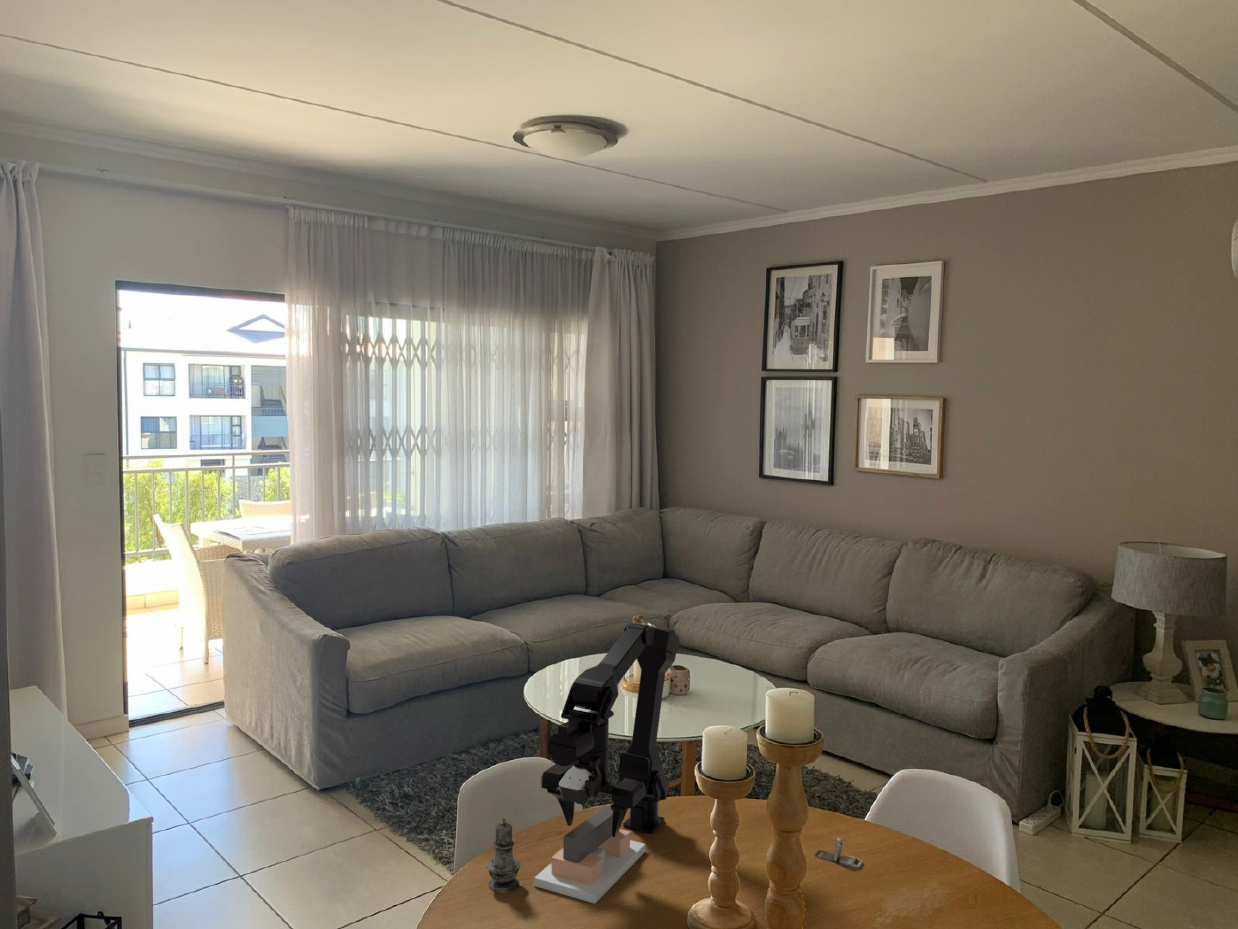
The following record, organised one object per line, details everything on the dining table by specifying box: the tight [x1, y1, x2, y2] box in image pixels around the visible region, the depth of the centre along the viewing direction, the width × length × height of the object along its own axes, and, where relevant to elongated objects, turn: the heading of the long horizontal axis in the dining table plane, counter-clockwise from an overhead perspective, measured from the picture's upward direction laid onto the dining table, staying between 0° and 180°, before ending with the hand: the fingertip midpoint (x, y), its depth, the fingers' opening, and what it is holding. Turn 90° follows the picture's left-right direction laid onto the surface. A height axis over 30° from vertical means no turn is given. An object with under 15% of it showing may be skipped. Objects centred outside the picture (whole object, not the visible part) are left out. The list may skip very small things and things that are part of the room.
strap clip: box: [813, 837, 863, 870], centre depth 169 cm, size 8×3×4 cm, turn 58°
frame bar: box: [562, 805, 613, 863], centre depth 164 cm, size 14×3×4 cm, turn 150°
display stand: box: [533, 828, 646, 905], centre depth 165 cm, size 20×12×4 cm, turn 153°
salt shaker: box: [486, 817, 522, 894], centre depth 159 cm, size 6×6×12 cm
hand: (592, 830), depth 164 cm, fingers open, 9 cm apart
